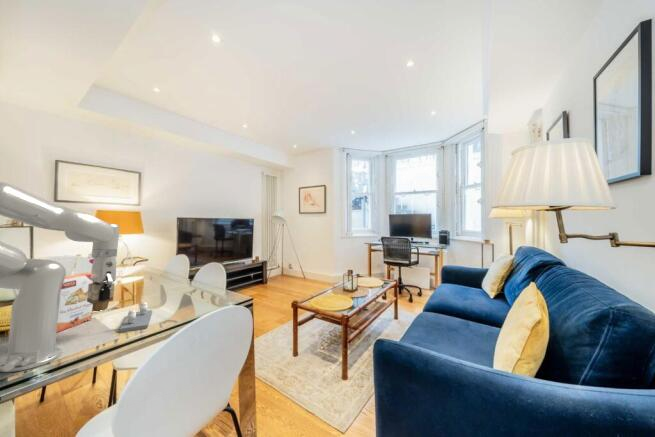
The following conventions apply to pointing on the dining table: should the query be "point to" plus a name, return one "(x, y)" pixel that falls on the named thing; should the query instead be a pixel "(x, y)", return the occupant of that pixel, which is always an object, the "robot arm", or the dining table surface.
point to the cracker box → (74, 301)
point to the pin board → (137, 319)
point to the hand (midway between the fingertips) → (100, 298)
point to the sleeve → (94, 293)
